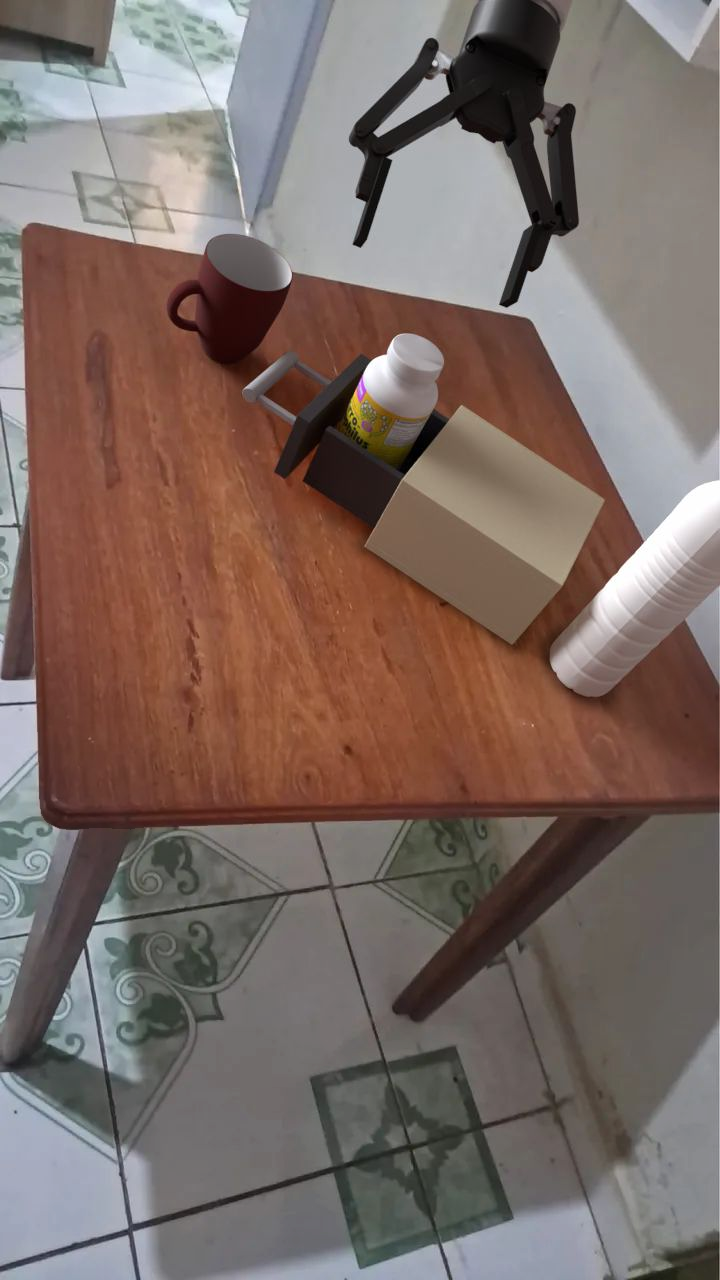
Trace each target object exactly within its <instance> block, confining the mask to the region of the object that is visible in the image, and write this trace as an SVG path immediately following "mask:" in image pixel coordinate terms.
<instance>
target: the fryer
mask: <svg viewBox="0 0 720 1280" xmlns="http://www.w3.org/2000/svg"><path fill="white" fill-rule="evenodd" d="M449 419H450V420H449V421H448V422H447V424H446V425H445V426H444V428H443V429H442V430H441V431H440V433H439V434H438V435H437V436H436V438H435V439H434V440H433V441H432V443H431V444H430V445H429V446H428V448H427V449H426V450H425V451H424V453H423V454H422V455H421V456H420V458H419V459H418V460H417V461H416V463H415V464H414V465H413V466H412V468H411V469H410V470H409V471H408V473H407V474H406V475H405V477H404V478H403V479H402V481H401V482H400V484H399V486H398V488H397V489H396V491H395V493H394V495H393V496H392V498H391V500H390V502H389V504H388V505H387V507H386V509H385V511H384V512H383V514H382V516H381V518H380V520H379V521H378V523H377V525H376V527H375V528H373V530H372V531H371V534H370V535H369V537H368V539H367V540H366V543H365V544H364V548H365V549H367V550H369V551H370V552H372V553H373V554H375V555H376V556H378V557H379V558H380V559H382V560H383V561H385V562H386V563H388V564H389V565H391V566H393V567H394V568H395V569H397V570H399V572H401V573H403V574H405V575H406V576H407V577H409V578H411V579H412V580H414V581H415V582H416V583H418V584H419V585H421V586H423V587H424V588H425V589H427V590H428V591H431V593H433V594H434V595H435V596H438V597H439V598H440V599H442V600H444V601H445V602H447V603H448V604H449V605H451V606H453V607H454V608H456V609H457V610H459V612H462V613H463V614H464V615H466V616H467V617H469V618H471V619H472V620H474V621H475V622H477V623H478V624H480V625H481V626H483V627H484V628H486V629H487V630H489V632H491V633H493V634H495V636H498V637H499V638H500V639H502V640H504V641H505V642H507V643H508V644H510V645H511V646H512V645H514V644H515V643H516V642H517V640H518V639H519V638H520V637H521V635H522V634H523V633H524V632H525V631H526V630H527V629H528V627H529V626H530V625H531V624H532V623H533V621H534V620H535V619H536V618H537V617H538V615H539V614H540V613H541V612H542V611H543V610H544V609H545V608H546V606H547V605H548V604H549V603H550V601H551V600H552V599H553V598H554V597H555V595H556V594H557V593H558V592H559V591H560V590H561V588H562V587H563V586H564V584H565V582H566V580H567V578H568V576H569V574H570V572H571V570H572V568H573V566H574V564H575V562H576V559H577V558H578V555H579V554H580V552H581V550H582V548H583V546H584V543H585V542H586V540H587V538H588V536H589V534H590V531H591V530H592V527H593V526H594V524H595V522H596V519H597V518H598V515H599V514H600V511H601V509H602V507H603V505H604V503H605V502H606V499H605V498H603V497H602V496H601V495H599V494H598V493H596V492H595V491H593V490H592V489H590V488H588V487H587V486H585V485H584V484H582V483H581V482H579V481H577V480H576V479H575V478H573V477H572V476H570V475H569V474H567V473H566V472H565V471H563V470H561V469H560V468H558V467H556V466H555V465H554V464H552V463H551V462H549V461H548V460H546V459H544V457H542V456H540V455H538V454H537V453H536V452H533V450H531V449H529V448H528V447H526V446H525V445H523V444H522V443H521V442H519V441H517V440H515V439H514V438H513V437H511V436H509V435H508V434H507V433H505V432H504V431H502V430H500V429H499V428H498V427H496V426H495V425H493V424H491V423H490V422H488V421H487V420H485V419H483V418H482V417H481V416H479V415H478V414H476V413H475V412H473V411H472V410H471V409H468V408H467V407H466V406H464V405H463V404H461V405H460V406H459V407H458V408H457V410H456V411H455V412H454V413H453V415H452V416H451V418H449Z"/></svg>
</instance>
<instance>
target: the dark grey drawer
mask: <svg viewBox="0 0 720 1280" xmlns="http://www.w3.org/2000/svg"><path fill="white" fill-rule="evenodd" d="M372 360H373V359H371V358H369V357H367V356H366V355H365V354H363V353H360V354H359V355H358V356H356V358H355V359H353V361H352V362H351V363H350V364H348V366H347V367H345V368H344V369H343V370H342V371H341V372H340V373H339V374H338V375H337V376H336V377H335V378H334V379H333V380H330V379H328V378H326V377H325V376H324V375H322V374H321V373H319V372H318V371H316V370H315V369H313V368H311V367H310V366H308V365H307V364H306V363H304V362H303V361H302V360H301V361H300V357H299V354H298V353H297V352H296V351H295V350H292V349H291V350H287V351H286V352H285V353H284V354H283V355H282V356H280V358H278V359H277V360H276V361H274V362H273V363H272V364H271V365H270V366H269V367H267V368H266V369H265V370H264V371H263V372H261V374H260V375H258V376H257V377H256V378H254V380H253V381H251V382H250V383H249V384H248V385H247V386H245V387H244V388H243V389H242V392H241V393H242V394H241V395H242V398H243V399H244V401H246V402H247V403H250V404H252V403H255V402H256V403H258V404H260V405H261V406H262V407H264V408H265V409H266V410H268V411H270V412H271V413H273V414H274V415H276V416H277V417H279V418H281V419H282V420H283V421H285V422H286V423H288V424H289V425H290V426H292V427H291V430H290V432H289V435H288V437H287V439H286V441H285V444H284V446H283V449H282V451H281V454H280V455H279V456H280V457H279V458H278V461H277V462H276V466H275V468H274V470H273V472H274V474H276V475H277V476H279V477H281V478H282V479H283V480H286V479H287V478H288V477H289V476H290V475H291V474H292V473H293V472H294V471H295V470H296V469H297V467H298V466H300V464H301V463H302V462H303V461H304V460H306V458H307V457H308V456H309V455H310V454H311V453H312V452H313V451H314V450H315V449H316V450H315V452H314V455H313V456H312V459H311V462H310V463H309V465H308V467H307V470H306V472H305V475H304V477H303V479H302V482H303V483H304V484H306V485H307V486H309V487H310V488H312V489H313V490H315V491H316V492H318V493H319V494H321V495H322V496H324V497H326V498H327V499H328V500H329V501H331V502H333V503H334V504H336V505H337V506H339V507H340V508H341V509H344V510H345V511H346V512H347V513H349V514H350V515H352V516H354V517H355V518H357V519H358V520H359V521H361V522H362V523H364V524H365V525H367V526H369V527H370V528H372V529H374V528H375V527H376V525H377V523H378V521H379V520H380V518H381V516H382V514H383V512H384V511H385V509H386V507H387V505H388V504H389V502H390V500H391V498H392V496H393V495H394V493H395V491H396V489H397V488H398V486H399V484H400V482H401V481H402V479H403V478H404V477H405V475H406V474H407V473H408V471H409V470H410V469H411V468H412V466H413V465H414V464H415V463H416V461H417V460H418V459H419V458H420V456H421V455H422V454H423V453H424V451H425V450H426V449H427V448H428V446H429V445H430V444H431V443H432V441H433V440H434V439H435V438H436V436H437V435H438V434H439V433H440V431H441V430H442V429H443V428H444V426H445V425H446V424H447V422H448V421H449V420H450V419H451V418H448V417H447V416H446V415H443V414H442V413H441V412H439V410H436V409H435V408H434V409H433V411H432V413H431V414H430V416H429V418H428V420H427V421H426V423H425V425H424V427H423V428H422V430H421V432H420V434H419V435H418V437H417V439H416V441H415V443H414V444H413V446H412V448H411V450H410V452H409V453H408V455H407V457H406V459H405V460H404V462H403V464H402V466H401V468H400V469H399V471H398V470H396V469H395V468H393V467H392V466H390V465H389V464H387V463H386V462H384V461H383V460H381V459H380V458H378V457H377V456H375V455H374V454H372V453H371V452H369V451H368V450H366V449H365V448H363V447H362V446H360V445H359V444H357V443H356V442H354V441H353V440H351V439H349V438H348V437H346V436H345V435H343V434H342V433H340V432H339V431H337V429H336V427H338V426H339V424H340V422H341V420H342V418H343V416H344V414H345V412H346V410H347V408H348V406H349V403H350V401H351V399H352V397H353V395H354V393H355V391H356V389H357V386H358V384H359V382H360V380H361V378H362V376H363V374H364V372H365V370H366V368H367V366H368V365H369V363H370V362H371V361H372ZM293 368H294V369H296V370H297V371H299V372H301V373H302V374H303V375H305V376H306V377H307V378H309V379H311V380H312V381H314V382H315V383H316V384H318V385H320V386H321V387H323V389H322V391H320V393H318V394H317V396H316V397H314V398H313V399H312V401H310V402H309V403H308V404H307V405H306V406H305V407H304V408H303V409H302V410H301V411H300V412H298V414H297V415H296V416H295V415H294V414H293V413H291V412H289V411H288V410H287V409H285V408H284V407H282V406H281V405H278V404H277V403H276V402H274V401H272V400H271V399H270V398H268V397H267V396H265V395H264V394H265V393H267V391H269V390H270V389H271V388H272V387H273V386H274V385H275V384H276V383H278V382H279V381H280V380H281V379H282V378H283V377H284V376H286V374H288V373H289V372H290V371H291V370H292V369H293Z"/></svg>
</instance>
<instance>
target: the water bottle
mask: <svg viewBox="0 0 720 1280" xmlns="http://www.w3.org/2000/svg"><path fill="white" fill-rule="evenodd" d="M719 587H720V479H718V480H713V481H708V482H705V483H702V484H700V485H698V486H696V487H694V488H693V489H692V490H690V491H689V492H688V493H687V494H686V495H684V497H683V498H682V499H681V500H680V502H679V503H678V504H677V505H676V506H675V508H673V510H672V511H671V512H670V513H669V515H667V517H666V518H665V520H663V521H662V522H661V523H660V524H659V526H658V527H656V529H655V530H654V531H653V532H652V534H650V536H649V537H648V538H647V539H646V540H645V541H644V542H643V543H642V544H641V546H639V548H637V550H636V551H635V552H634V554H632V555H631V556H630V557H629V558H628V559H627V560H626V561H625V563H623V564H622V566H621V567H620V568H619V570H618V571H617V573H615V574H614V575H613V576H612V577H611V578H610V579H609V580H608V581H607V582H606V584H605V585H604V587H602V588H601V589H600V590H599V591H598V592H597V593H596V594H595V596H594V597H593V598H592V599H591V601H590V602H589V603H588V604H587V605H585V607H584V608H583V609H582V610H581V612H580V613H579V614H578V615H577V616H575V618H574V619H573V620H572V621H571V622H570V623H569V625H568V626H567V627H566V628H565V629H564V630H563V631H562V632H561V633H560V634H559V635H558V636H557V638H556V639H555V640H554V641H553V642H552V644H551V646H550V649H549V663H550V667H551V669H552V670H553V672H554V673H556V677H557V678H558V680H559V681H560V682H561V683H562V684H563V686H565V687H566V688H568V689H570V690H572V691H573V692H574V693H575V694H578V695H580V696H583V697H587V698H588V697H589V698H590V697H592V698H599V697H603V696H604V695H606V694H607V693H609V692H610V691H611V690H612V689H614V688H615V687H616V685H617V684H619V682H621V681H622V679H623V678H624V677H626V676H627V675H628V674H629V673H630V672H631V671H633V669H634V668H635V667H636V666H637V665H638V664H639V663H641V661H643V660H644V659H645V658H646V657H647V656H648V655H649V654H650V653H651V651H652V650H654V649H655V648H656V647H657V646H658V645H660V644H661V642H662V641H663V640H664V639H665V638H667V637H668V636H669V635H670V634H671V633H673V631H674V630H675V629H676V628H677V626H679V625H680V624H682V623H683V622H684V621H685V620H686V619H687V618H688V617H689V615H691V614H692V613H693V612H694V611H695V609H696V608H698V607H699V606H700V605H701V604H702V603H703V602H704V601H705V600H707V598H708V597H709V596H710V595H712V594H713V593H714V592H715V591H716V589H717V588H719Z"/></svg>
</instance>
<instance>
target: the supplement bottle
mask: <svg viewBox="0 0 720 1280" xmlns="http://www.w3.org/2000/svg"><path fill="white" fill-rule="evenodd" d="M371 360H372V361H371V362H370V363H369V365H368V366H367V368H366V370H365V372H364V374H363V376H362V378H361V380H360V382H359V384H358V386H357V389H356V391H355V393H354V395H353V397H352V399H351V401H350V403H349V406H348V408H347V410H346V412H345V414H344V416H343V418H342V420H341V421H340V423H339V424H338V425H337V429H336V430H337V431H339V432H340V433H342V434H343V435H345V436H346V437H348V438H349V439H351V440H353V441H354V442H356V443H357V444H359V445H360V446H362V447H363V448H365V449H366V450H368V451H369V452H371V453H372V454H374V455H375V456H377V457H378V458H380V459H381V460H383V461H384V462H386V463H387V464H389V465H390V466H392V467H393V468H395V469H396V470H398V471H399V469H400V468H401V466H402V464H403V462H404V460H405V459H406V457H407V455H408V453H409V452H410V450H411V448H412V446H413V444H414V443H415V441H416V439H417V437H418V435H419V434H420V432H421V430H422V428H423V427H424V425H425V423H426V421H427V420H428V418H429V416H430V414H431V413H432V411H433V409H435V407H436V405H437V403H438V398H439V389H438V384H437V382H436V381H437V379H438V378H439V377H440V375H441V372H442V371H443V368H444V366H445V358H444V355H443V353H442V352H441V350H440V349H439V348H438V347H437V346H436V344H435V343H433V342H432V341H431V340H429V339H427V338H425V337H423V336H420V335H417V334H415V333H409V332H407V333H400V334H398V335H396V336H395V337H394V338H393V339H392V340H391V342H390V344H389V346H388V348H387V351H386V354H382V355H380V356H377V357H375V358H374V359H371Z"/></svg>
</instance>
